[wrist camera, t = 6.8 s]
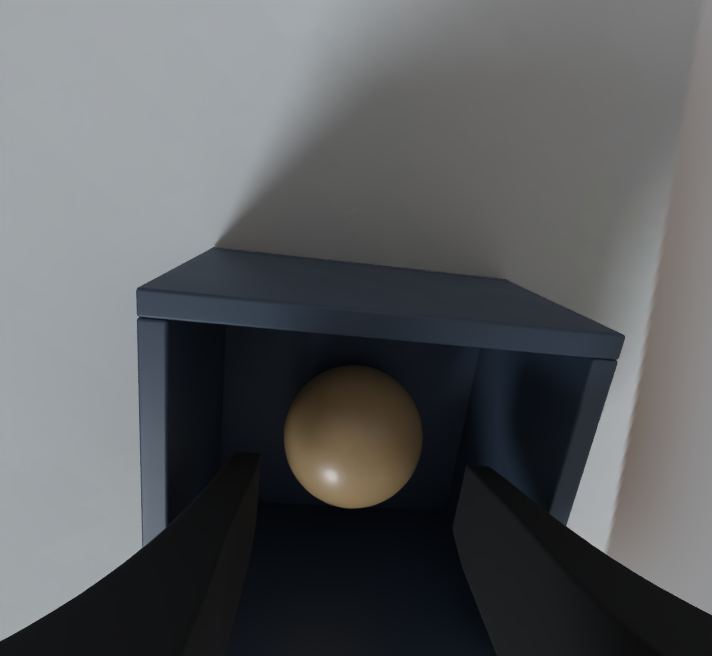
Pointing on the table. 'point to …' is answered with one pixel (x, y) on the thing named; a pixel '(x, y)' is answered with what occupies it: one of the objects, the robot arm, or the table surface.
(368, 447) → the brown ball
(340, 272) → the bin
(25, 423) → the table surface
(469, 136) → the table surface
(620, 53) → the table surface
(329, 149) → the table surface
